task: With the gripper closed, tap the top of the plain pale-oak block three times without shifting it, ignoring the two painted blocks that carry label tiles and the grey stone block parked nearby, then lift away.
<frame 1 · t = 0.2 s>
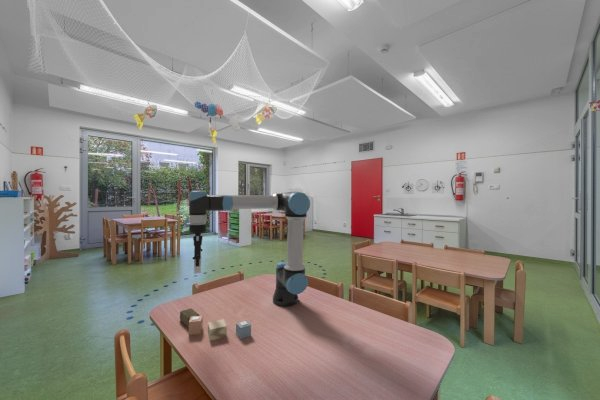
hand: (197, 268, 119), 28 cm above the table, fingers open, 13 cm apart
terracotta block: (195, 331, 116), on the table
stone block: (189, 322, 124), on the table
oak block: (217, 335, 113), on the table
slate block: (243, 334, 114), on the table
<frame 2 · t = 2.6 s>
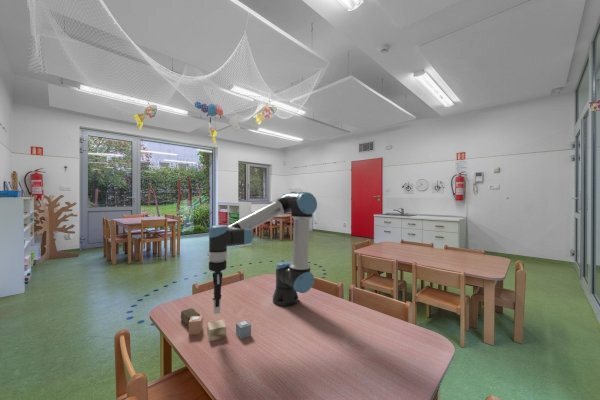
hand: (216, 312, 113), 10 cm above the table, fingers closed
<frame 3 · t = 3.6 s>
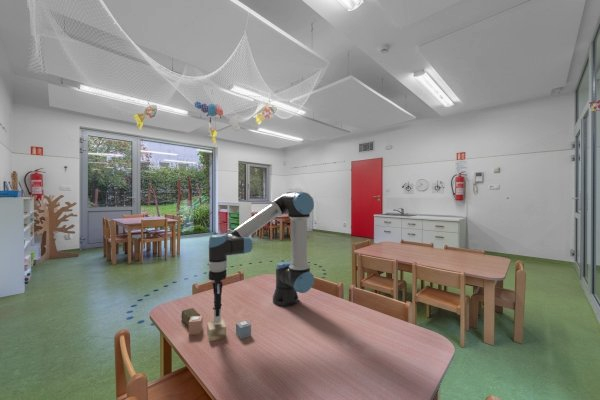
hand: (217, 322, 113), 6 cm above the table, fingers closed
nothing on the table moved.
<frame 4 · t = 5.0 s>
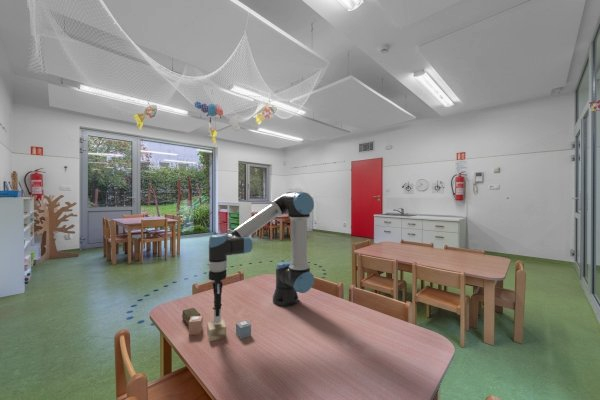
hand: (217, 322, 113), 6 cm above the table, fingers closed
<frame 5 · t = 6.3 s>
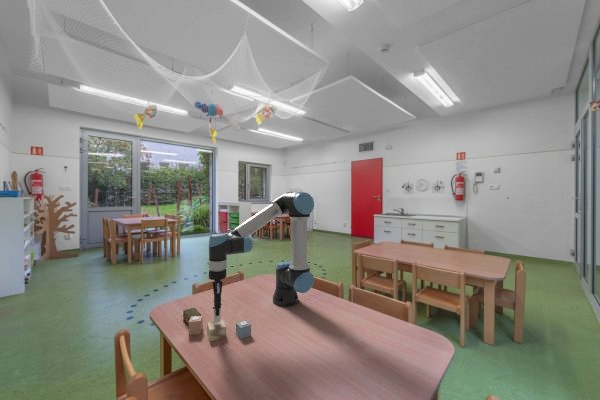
hand: (217, 321, 113), 6 cm above the table, fingers closed
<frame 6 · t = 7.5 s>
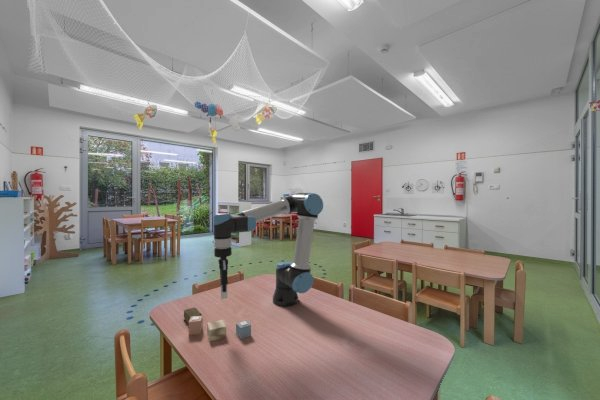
hand: (224, 297, 116), 15 cm above the table, fingers closed
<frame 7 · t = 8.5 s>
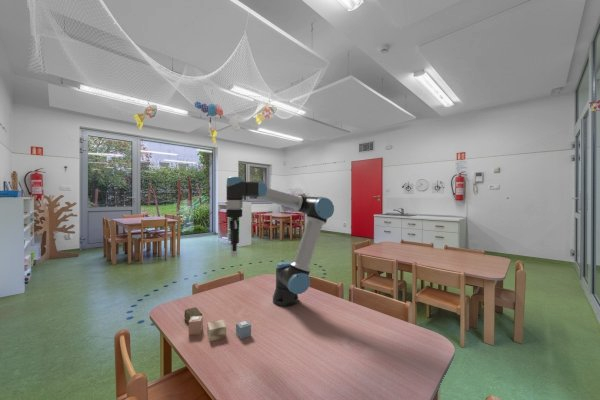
hand: (234, 257, 123), 32 cm above the table, fingers closed
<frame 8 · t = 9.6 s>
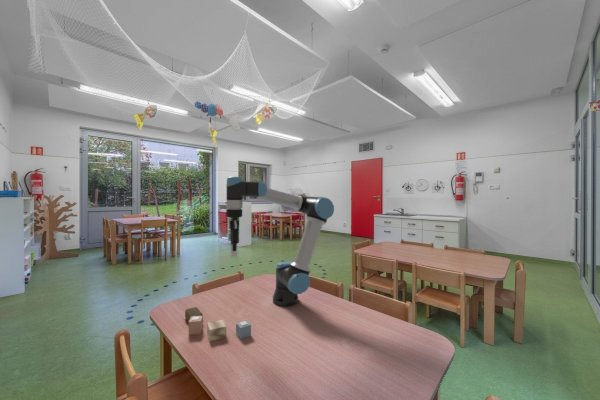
hand: (233, 257, 123), 32 cm above the table, fingers closed
at the end: oak block moved 0.5 cm from its start; oak block tilted 0°; slate block moved 0.1 cm from its start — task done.
